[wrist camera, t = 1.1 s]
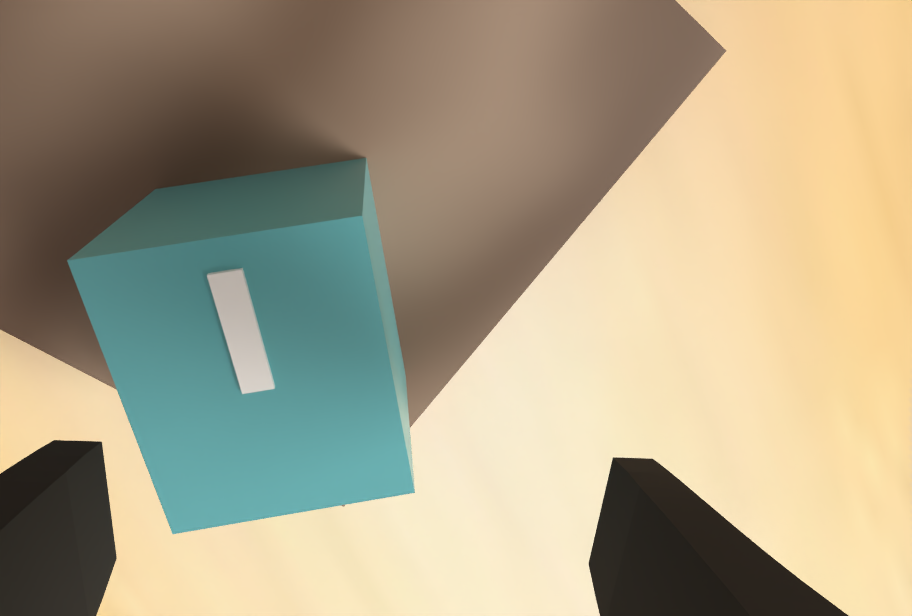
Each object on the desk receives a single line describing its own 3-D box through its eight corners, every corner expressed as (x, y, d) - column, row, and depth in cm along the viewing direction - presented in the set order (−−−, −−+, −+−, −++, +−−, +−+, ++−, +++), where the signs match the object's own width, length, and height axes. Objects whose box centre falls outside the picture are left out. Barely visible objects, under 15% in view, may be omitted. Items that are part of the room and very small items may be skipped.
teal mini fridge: (223, 404, 18) (170, 537, 14) (155, 189, 16) (64, 262, 11) (405, 374, 19) (415, 495, 14) (366, 157, 16) (362, 216, 12)
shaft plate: (-316, 130, 16) (-543, 169, 12) (-15, -651, 11) (-212, -986, 8) (345, 481, 21) (338, 584, 18) (704, 48, 17) (797, 59, 13)
